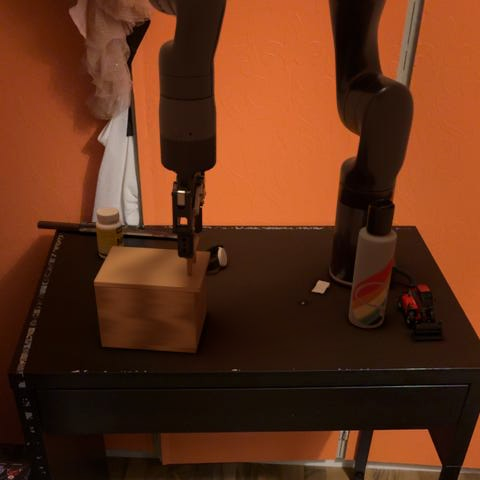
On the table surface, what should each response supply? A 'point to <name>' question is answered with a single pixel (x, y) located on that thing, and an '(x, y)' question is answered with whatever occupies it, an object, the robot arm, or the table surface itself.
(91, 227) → the knife
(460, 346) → the table surface
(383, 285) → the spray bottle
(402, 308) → the loader
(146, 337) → the brown open rectangular box
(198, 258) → the lid
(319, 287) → the card
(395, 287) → the table surface
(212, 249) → the watch
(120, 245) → the supplement bottle
